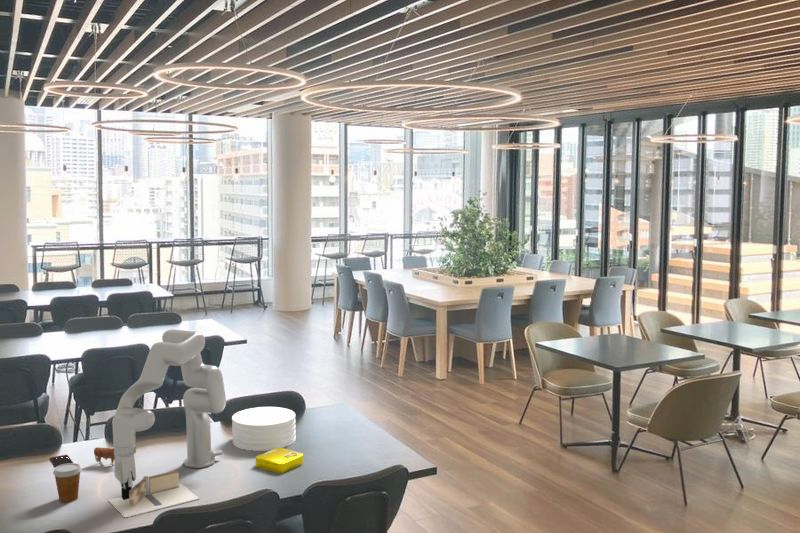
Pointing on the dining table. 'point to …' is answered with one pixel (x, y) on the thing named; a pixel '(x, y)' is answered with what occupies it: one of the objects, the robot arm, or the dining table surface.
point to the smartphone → (60, 460)
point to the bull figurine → (104, 454)
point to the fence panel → (137, 492)
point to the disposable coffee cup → (67, 481)
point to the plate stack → (263, 428)
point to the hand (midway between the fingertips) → (127, 498)
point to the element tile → (279, 460)
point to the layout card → (156, 495)
